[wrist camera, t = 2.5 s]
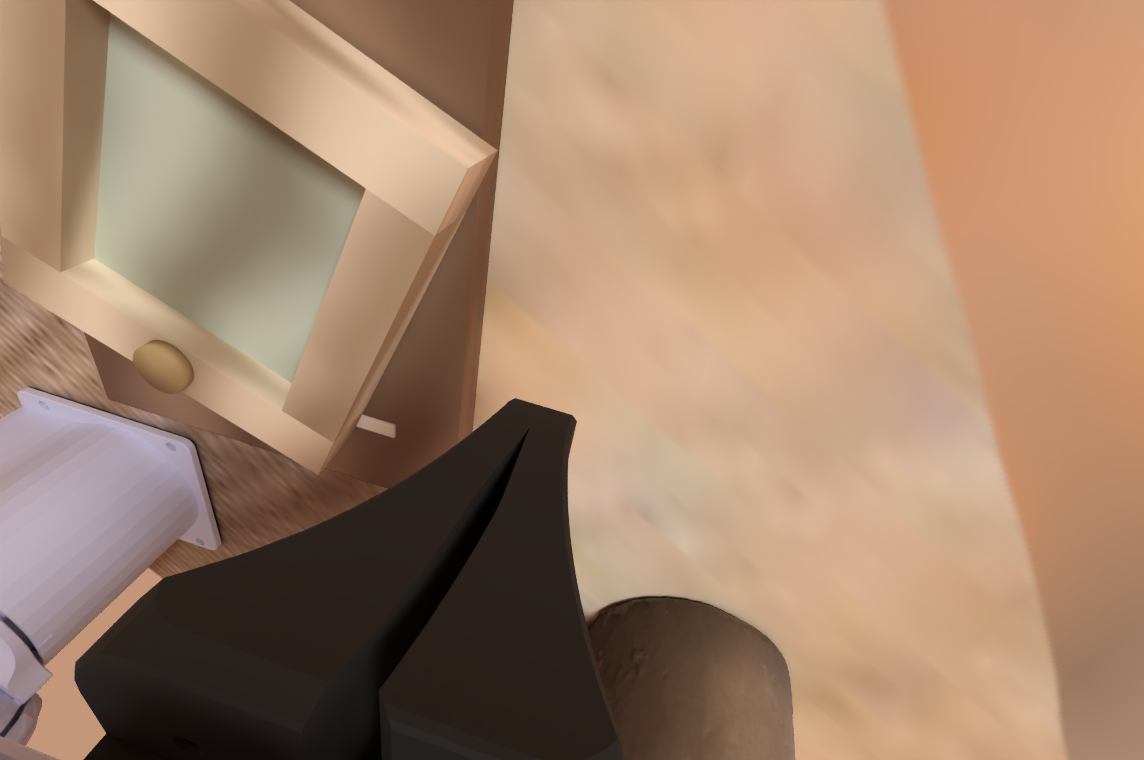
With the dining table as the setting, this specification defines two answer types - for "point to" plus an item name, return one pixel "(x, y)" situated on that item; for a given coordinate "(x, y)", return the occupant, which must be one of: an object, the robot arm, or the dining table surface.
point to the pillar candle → (692, 683)
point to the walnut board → (457, 289)
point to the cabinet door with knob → (226, 201)
